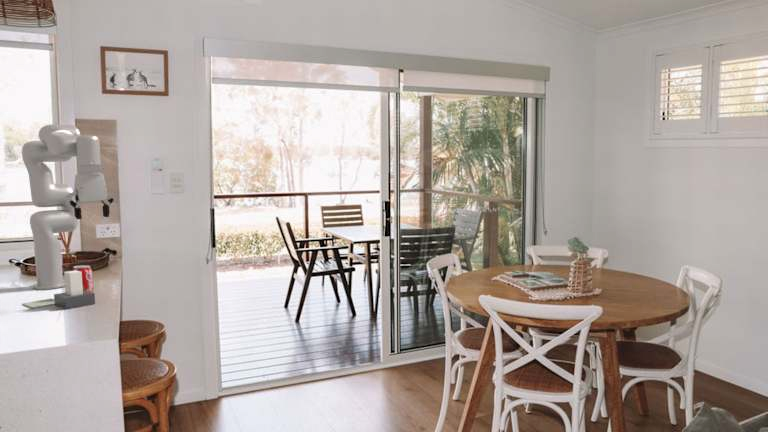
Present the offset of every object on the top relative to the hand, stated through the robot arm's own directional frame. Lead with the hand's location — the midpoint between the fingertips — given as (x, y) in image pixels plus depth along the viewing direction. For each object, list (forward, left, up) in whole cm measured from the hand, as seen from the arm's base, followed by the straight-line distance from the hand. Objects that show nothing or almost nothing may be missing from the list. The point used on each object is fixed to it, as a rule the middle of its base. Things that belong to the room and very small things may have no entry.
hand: (92, 217), depth 220 cm
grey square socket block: (-3, -7, -31) cm, 32 cm away
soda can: (-13, 0, -31) cm, 34 cm away
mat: (-14, -14, -31) cm, 37 cm away
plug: (-3, -7, -31) cm, 32 cm away
